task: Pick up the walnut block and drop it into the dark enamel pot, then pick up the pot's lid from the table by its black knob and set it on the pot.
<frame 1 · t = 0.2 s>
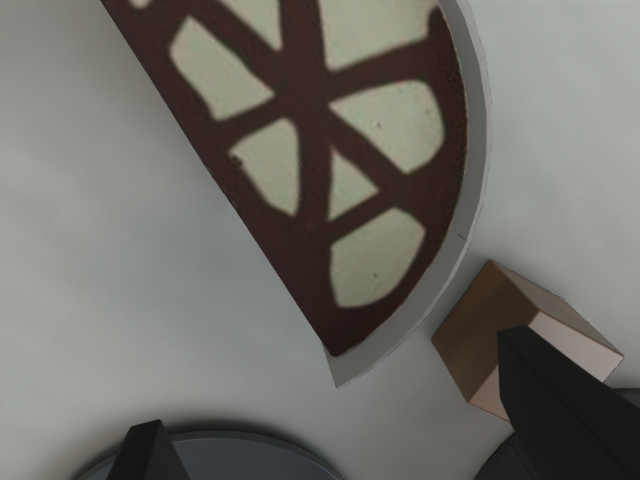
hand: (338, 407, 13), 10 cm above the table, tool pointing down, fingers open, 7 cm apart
food container: (289, 43, 20), on the table
block: (498, 320, 25), on the table
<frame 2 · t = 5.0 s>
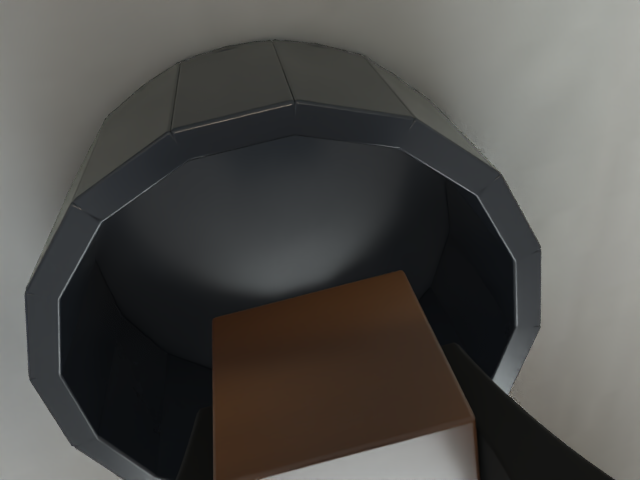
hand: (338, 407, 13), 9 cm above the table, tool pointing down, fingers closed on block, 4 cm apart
pot: (278, 238, 21), on the table
block: (325, 362, 14), point 8 cm above the table, touching gripper
when the fingers open (2 cm above the table, at t = 7.5 s): block stays where it is, resting on pot.
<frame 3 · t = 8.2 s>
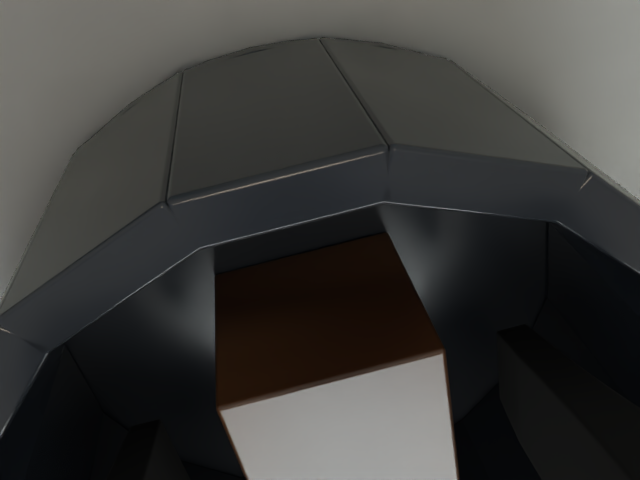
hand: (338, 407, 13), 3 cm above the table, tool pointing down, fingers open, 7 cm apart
pot: (316, 308, 16), on the table
block: (318, 319, 15), resting on pot
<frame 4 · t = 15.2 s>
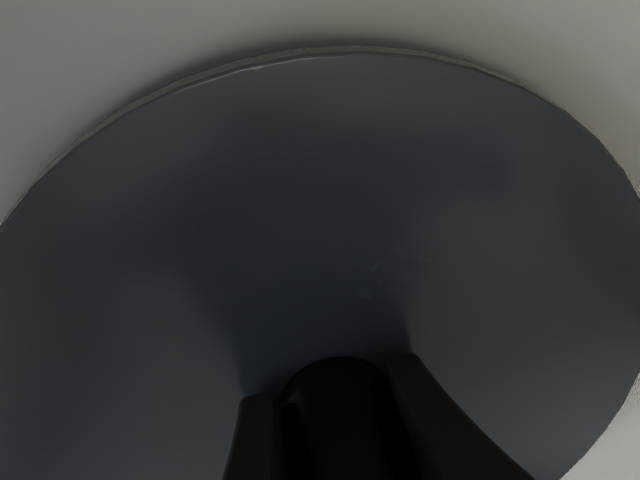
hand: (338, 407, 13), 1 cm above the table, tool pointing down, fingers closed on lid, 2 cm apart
lid: (330, 380, 13), point 1 cm above the table, touching gripper
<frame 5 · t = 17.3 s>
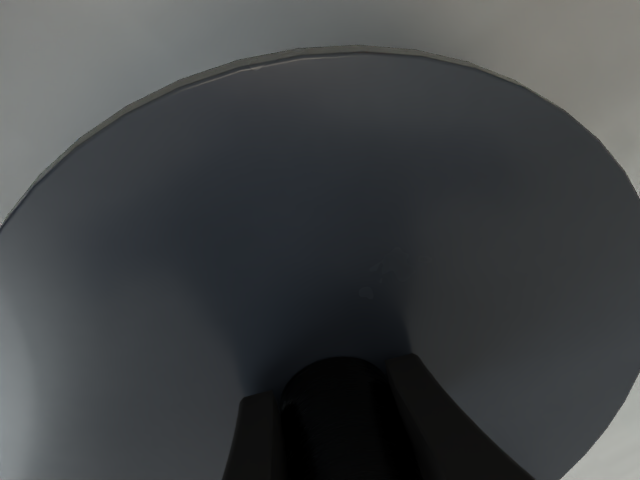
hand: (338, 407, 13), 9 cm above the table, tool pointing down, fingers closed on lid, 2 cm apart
lid: (330, 380, 13), point 9 cm above the table, touching gripper
when the fingers open (7 cm above the table, at t = 19.4 s): lid stays where it is, resting on pot.
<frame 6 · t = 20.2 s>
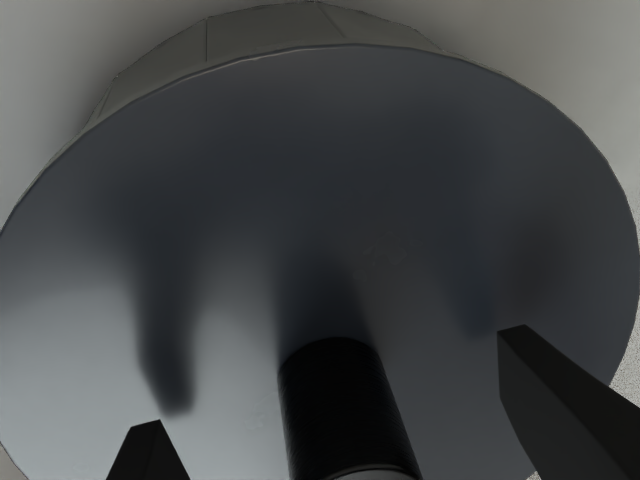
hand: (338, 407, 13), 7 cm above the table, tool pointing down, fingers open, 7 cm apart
pot: (296, 232, 19), on the table
lid: (326, 361, 14), point 6 cm above the table, touching pot
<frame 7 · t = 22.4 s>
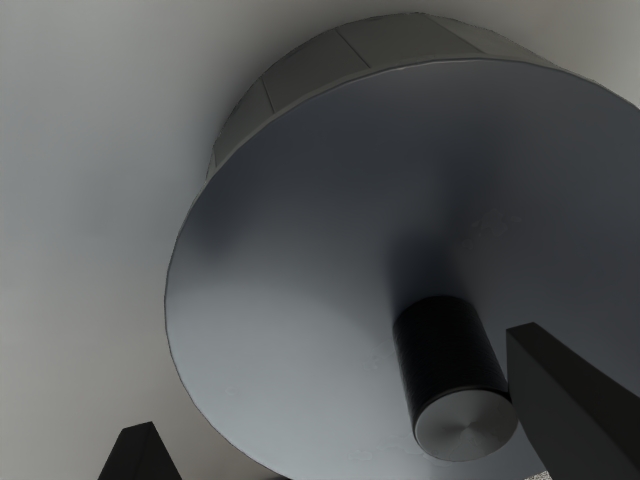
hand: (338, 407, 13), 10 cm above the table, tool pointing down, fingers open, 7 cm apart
pot: (388, 202, 23), on the table
lid: (432, 318, 17), point 7 cm above the table, tilted 9°, touching gripper, pot
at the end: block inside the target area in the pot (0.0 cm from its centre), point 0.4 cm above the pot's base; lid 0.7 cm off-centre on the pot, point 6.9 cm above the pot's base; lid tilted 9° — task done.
